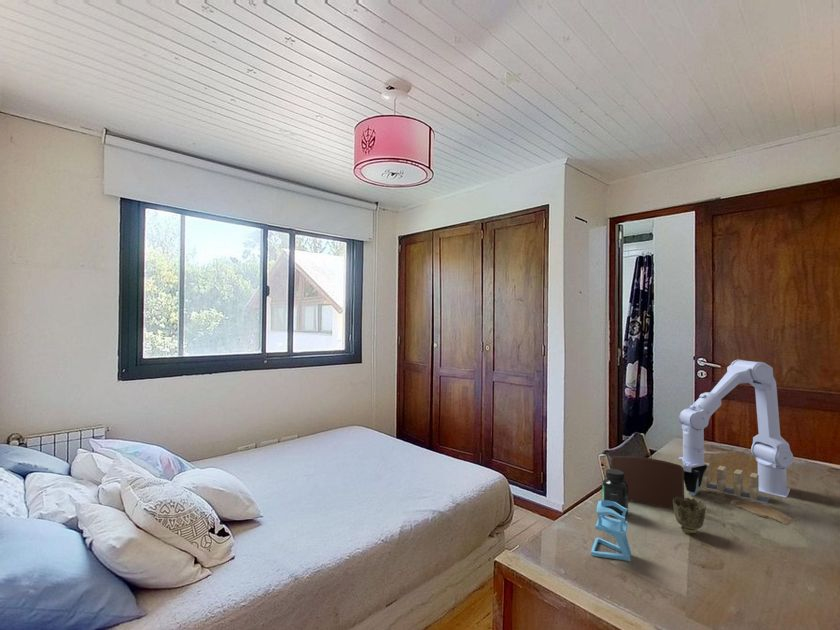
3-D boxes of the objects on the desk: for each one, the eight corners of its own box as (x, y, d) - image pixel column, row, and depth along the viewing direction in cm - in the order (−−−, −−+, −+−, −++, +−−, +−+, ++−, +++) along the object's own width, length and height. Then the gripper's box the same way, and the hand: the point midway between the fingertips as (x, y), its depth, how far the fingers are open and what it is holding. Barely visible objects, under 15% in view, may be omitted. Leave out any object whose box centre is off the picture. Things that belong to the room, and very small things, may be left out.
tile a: (700, 486, 138) (700, 465, 138) (704, 482, 141) (704, 462, 141) (706, 487, 137) (706, 466, 137) (709, 483, 140) (709, 463, 140)
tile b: (716, 490, 135) (716, 469, 135) (720, 486, 138) (720, 465, 138) (722, 491, 133) (722, 470, 133) (726, 487, 137) (725, 466, 137)
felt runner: (677, 475, 149) (677, 474, 149) (770, 498, 129) (770, 497, 129) (671, 480, 144) (671, 479, 144) (767, 505, 125) (767, 503, 125)
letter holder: (684, 511, 121) (684, 463, 121) (610, 498, 130) (610, 453, 130) (681, 498, 130) (680, 454, 130) (612, 486, 139) (612, 445, 139)
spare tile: (688, 495, 132) (688, 473, 132) (692, 491, 135) (692, 469, 135) (694, 496, 131) (694, 474, 131) (698, 492, 134) (698, 471, 134)
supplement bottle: (599, 512, 120) (598, 471, 120) (607, 505, 125) (606, 465, 125) (624, 520, 115) (623, 477, 115) (631, 512, 120) (631, 471, 120)
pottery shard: (781, 529, 111) (780, 523, 111) (725, 504, 126) (725, 498, 126) (802, 526, 113) (802, 519, 113) (744, 501, 128) (744, 495, 128)
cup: (701, 527, 111) (700, 498, 111) (710, 541, 104) (710, 510, 104) (669, 523, 114) (669, 494, 114) (676, 536, 107) (676, 506, 107)
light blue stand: (629, 566, 94) (629, 514, 94) (590, 555, 98) (591, 505, 98) (632, 550, 100) (632, 501, 100) (595, 540, 105) (596, 493, 105)
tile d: (749, 498, 128) (749, 476, 128) (752, 494, 131) (752, 472, 132) (756, 500, 127) (755, 477, 127) (758, 496, 130) (758, 474, 130)
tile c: (733, 494, 131) (733, 472, 131) (736, 490, 134) (736, 469, 134) (740, 496, 130) (739, 474, 130) (743, 492, 133) (742, 470, 133)
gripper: (685, 439, 141) (686, 479, 141) (672, 448, 131) (672, 491, 131) (710, 444, 136) (710, 485, 136) (698, 453, 126) (698, 498, 126)
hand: (693, 488), depth 133 cm, fingers open, 6 cm apart
